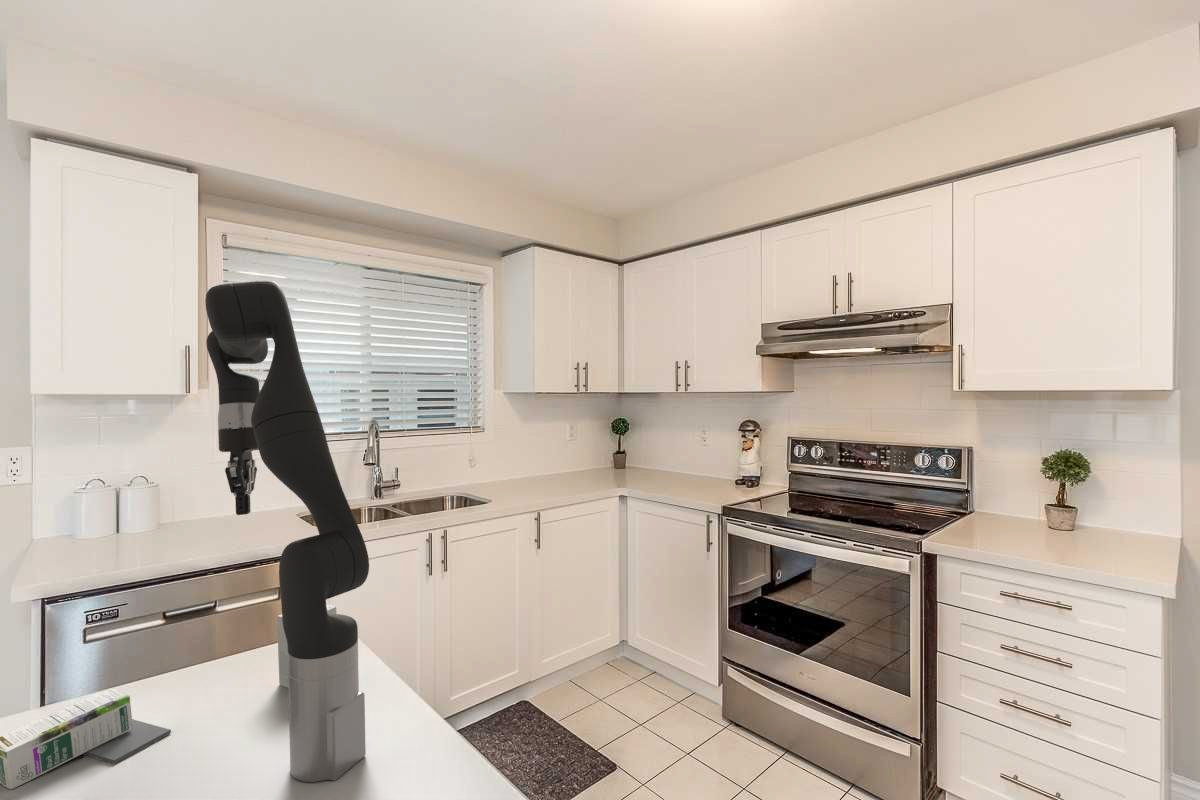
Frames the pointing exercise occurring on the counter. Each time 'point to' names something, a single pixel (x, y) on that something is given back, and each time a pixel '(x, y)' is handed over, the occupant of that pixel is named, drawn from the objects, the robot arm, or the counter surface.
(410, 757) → the counter surface
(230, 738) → the counter surface
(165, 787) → the counter surface
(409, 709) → the counter surface
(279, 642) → the small box
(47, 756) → the syrup box
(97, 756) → the slate trivet
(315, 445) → the robot arm
